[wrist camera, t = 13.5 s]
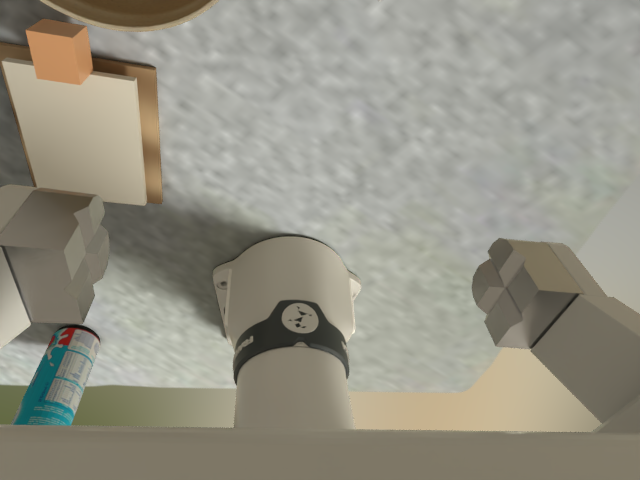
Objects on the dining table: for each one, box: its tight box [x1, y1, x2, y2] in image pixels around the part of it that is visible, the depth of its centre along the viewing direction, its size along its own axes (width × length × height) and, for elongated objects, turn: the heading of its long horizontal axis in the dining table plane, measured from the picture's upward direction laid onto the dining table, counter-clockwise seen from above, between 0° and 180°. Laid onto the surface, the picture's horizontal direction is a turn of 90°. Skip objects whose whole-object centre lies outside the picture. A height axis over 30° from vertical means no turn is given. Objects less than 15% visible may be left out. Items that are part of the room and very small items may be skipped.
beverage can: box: [11, 326, 100, 426], centre depth 53 cm, size 6×6×15 cm
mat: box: [0, 42, 163, 204], centre depth 39 cm, size 14×12×1 cm
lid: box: [2, 19, 147, 206], centre depth 36 cm, size 16×10×4 cm, turn 169°
